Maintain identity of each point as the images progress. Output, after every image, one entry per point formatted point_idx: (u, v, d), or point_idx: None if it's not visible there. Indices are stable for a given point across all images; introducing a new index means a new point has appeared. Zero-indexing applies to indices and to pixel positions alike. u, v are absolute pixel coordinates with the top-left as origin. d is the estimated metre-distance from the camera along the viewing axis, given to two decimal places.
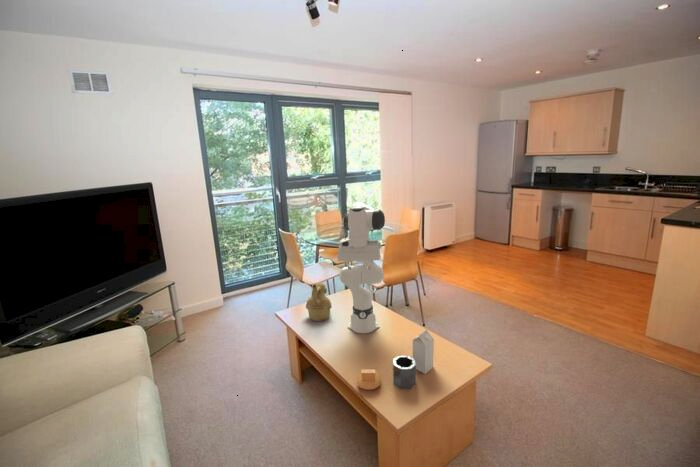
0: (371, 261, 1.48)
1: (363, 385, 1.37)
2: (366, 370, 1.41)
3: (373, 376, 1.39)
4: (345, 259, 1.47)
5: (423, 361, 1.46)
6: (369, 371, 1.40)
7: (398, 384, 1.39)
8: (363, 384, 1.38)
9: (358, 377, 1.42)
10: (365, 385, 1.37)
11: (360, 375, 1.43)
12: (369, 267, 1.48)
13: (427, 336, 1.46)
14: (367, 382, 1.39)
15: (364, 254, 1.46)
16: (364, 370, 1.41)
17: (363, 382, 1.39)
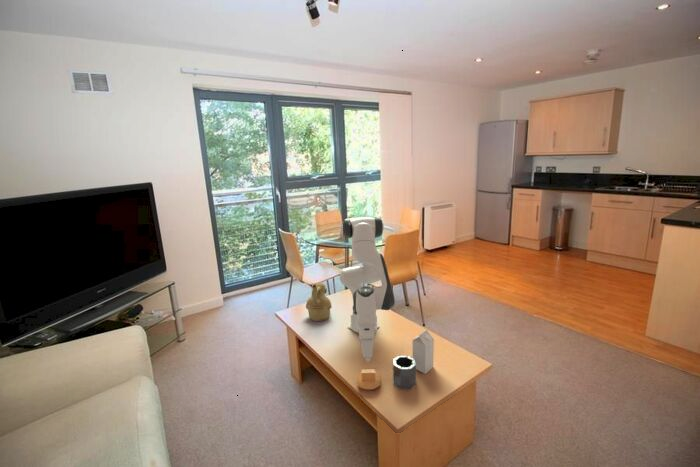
0: None
1: (363, 385, 1.37)
2: (366, 370, 1.41)
3: (373, 376, 1.39)
4: None
5: (423, 361, 1.46)
6: (369, 371, 1.40)
7: (398, 384, 1.39)
8: (363, 384, 1.38)
9: (358, 377, 1.42)
10: (365, 385, 1.37)
11: (360, 375, 1.43)
12: None
13: (427, 336, 1.46)
14: (367, 382, 1.39)
15: None
16: (364, 370, 1.41)
17: (363, 382, 1.39)
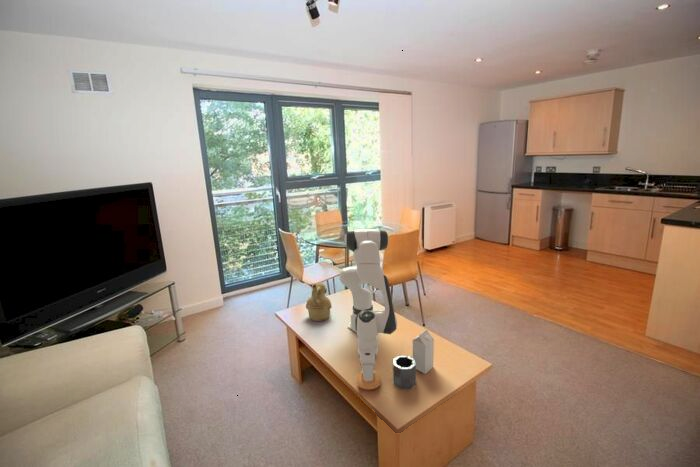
0: None
1: (363, 385, 1.37)
2: None
3: (373, 376, 1.39)
4: None
5: (423, 361, 1.46)
6: None
7: (398, 384, 1.39)
8: (363, 384, 1.38)
9: (358, 377, 1.42)
10: (365, 384, 1.37)
11: (360, 375, 1.43)
12: None
13: (427, 336, 1.46)
14: (367, 382, 1.39)
15: None
16: None
17: (363, 382, 1.39)
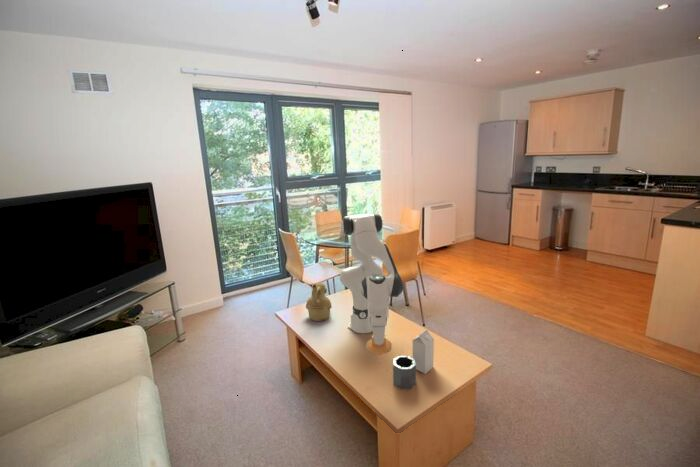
0: None
1: (373, 350, 1.34)
2: None
3: (384, 341, 1.36)
4: None
5: (423, 361, 1.46)
6: None
7: (398, 384, 1.39)
8: (373, 349, 1.34)
9: (368, 343, 1.39)
10: (376, 349, 1.34)
11: (370, 341, 1.40)
12: None
13: (427, 336, 1.46)
14: (377, 347, 1.35)
15: None
16: None
17: (373, 347, 1.35)
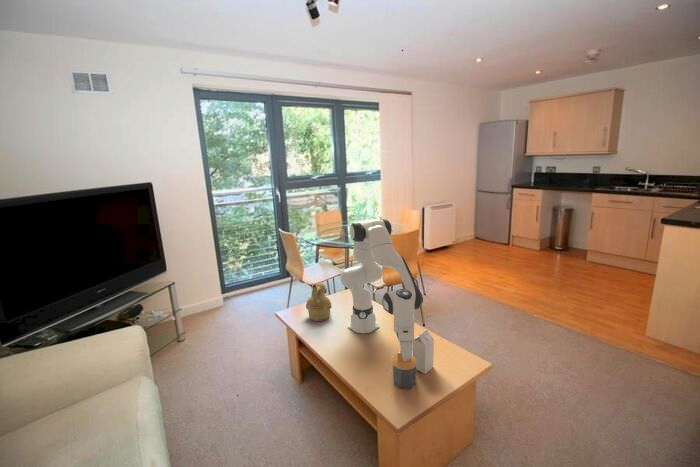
0: None
1: (399, 365, 1.36)
2: None
3: None
4: None
5: (423, 361, 1.46)
6: None
7: (398, 384, 1.39)
8: (399, 365, 1.37)
9: (393, 358, 1.41)
10: (402, 365, 1.36)
11: (395, 356, 1.43)
12: None
13: (427, 336, 1.46)
14: (403, 363, 1.38)
15: None
16: (400, 351, 1.40)
17: (399, 363, 1.38)
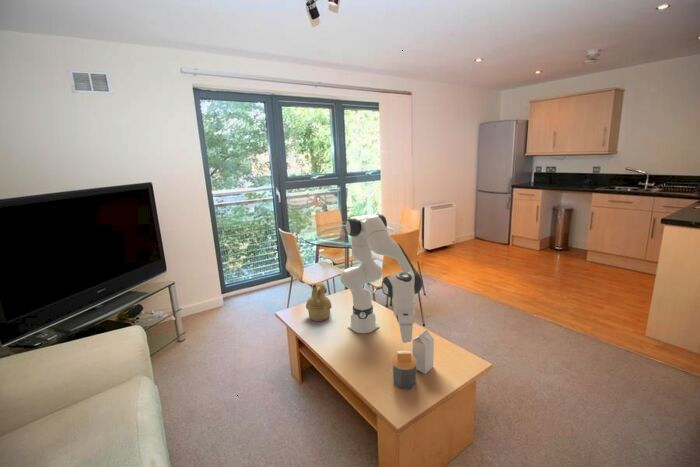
0: None
1: (399, 365, 1.36)
2: (402, 351, 1.40)
3: (409, 356, 1.38)
4: None
5: (423, 361, 1.46)
6: (405, 352, 1.39)
7: (398, 384, 1.39)
8: (399, 365, 1.37)
9: (393, 358, 1.41)
10: (402, 365, 1.36)
11: (395, 356, 1.43)
12: None
13: (427, 336, 1.46)
14: (403, 363, 1.38)
15: None
16: (400, 351, 1.40)
17: (399, 363, 1.38)
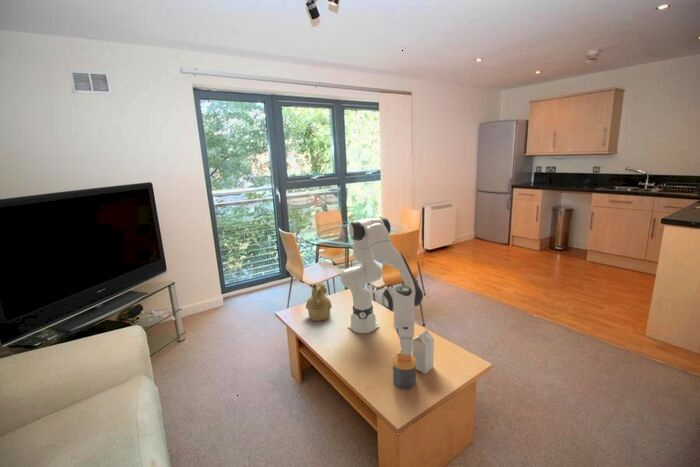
0: None
1: (399, 365, 1.36)
2: None
3: (409, 356, 1.38)
4: None
5: (423, 361, 1.46)
6: None
7: (398, 384, 1.39)
8: (399, 365, 1.37)
9: (393, 358, 1.41)
10: (402, 365, 1.36)
11: (395, 356, 1.43)
12: None
13: (427, 336, 1.46)
14: (403, 363, 1.38)
15: None
16: (400, 351, 1.40)
17: (399, 363, 1.38)
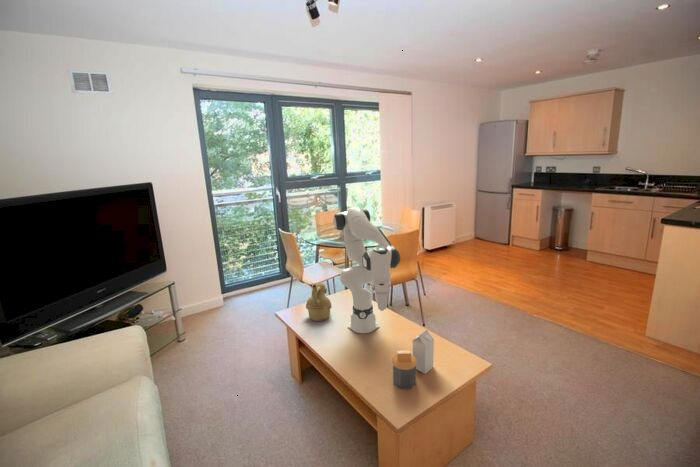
0: None
1: (399, 365, 1.36)
2: (402, 351, 1.40)
3: (409, 356, 1.38)
4: None
5: (423, 361, 1.46)
6: (405, 352, 1.39)
7: (398, 384, 1.39)
8: (399, 365, 1.37)
9: (393, 358, 1.41)
10: (402, 365, 1.36)
11: (395, 356, 1.43)
12: None
13: (427, 336, 1.46)
14: (403, 363, 1.38)
15: None
16: (400, 351, 1.40)
17: (399, 363, 1.38)
